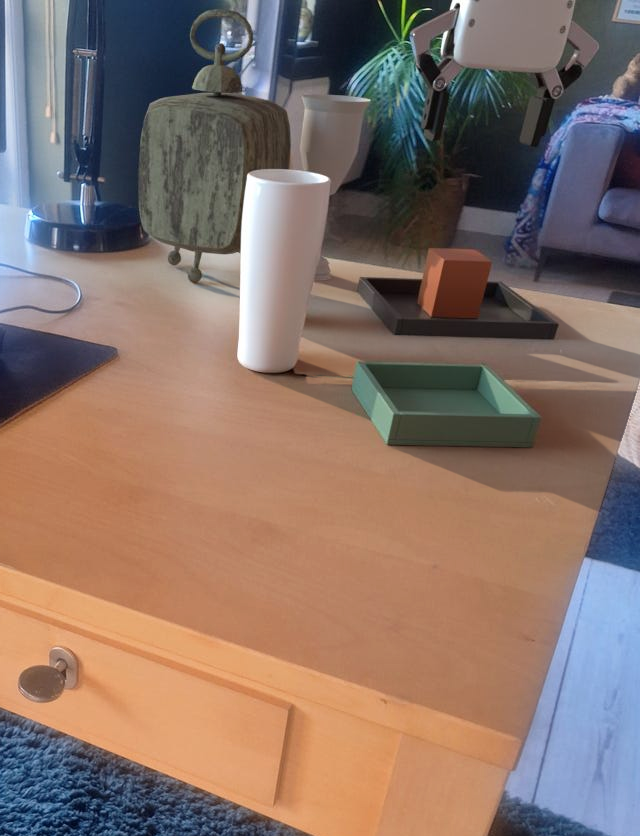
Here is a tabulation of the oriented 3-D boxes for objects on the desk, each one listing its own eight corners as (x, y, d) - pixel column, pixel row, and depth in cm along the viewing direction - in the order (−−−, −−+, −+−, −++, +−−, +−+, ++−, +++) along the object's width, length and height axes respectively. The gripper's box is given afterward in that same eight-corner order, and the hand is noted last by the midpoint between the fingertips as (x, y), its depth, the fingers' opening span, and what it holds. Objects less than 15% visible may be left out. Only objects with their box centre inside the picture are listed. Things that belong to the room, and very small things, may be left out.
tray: (479, 392, 74) (487, 364, 73) (532, 447, 66) (542, 417, 64) (351, 389, 74) (356, 360, 72) (386, 445, 65) (393, 414, 63)
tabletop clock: (276, 282, 100) (308, 14, 85) (240, 299, 94) (269, 13, 79) (167, 260, 106) (180, 5, 91) (127, 275, 99) (133, 4, 84)
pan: (496, 299, 99) (501, 281, 97) (553, 343, 86) (559, 323, 85) (356, 294, 97) (359, 276, 96) (393, 338, 85) (397, 318, 84)
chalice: (291, 286, 99) (315, 100, 88) (271, 270, 104) (291, 93, 93) (351, 285, 100) (382, 102, 90) (328, 270, 106) (355, 95, 95)
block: (461, 304, 95) (475, 249, 91) (477, 318, 91) (492, 261, 87) (416, 303, 94) (428, 247, 91) (430, 317, 90) (444, 259, 87)
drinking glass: (261, 347, 81) (282, 166, 72) (320, 367, 78) (349, 179, 69) (212, 362, 77) (228, 172, 68) (271, 384, 74) (296, 187, 65)
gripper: (613, -79, 77) (550, 141, 88) (423, -95, 76) (381, 131, 86) (656, -84, 71) (583, 153, 82) (451, -101, 70) (402, 142, 80)
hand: (479, 142), depth 84 cm, fingers open, 9 cm apart
